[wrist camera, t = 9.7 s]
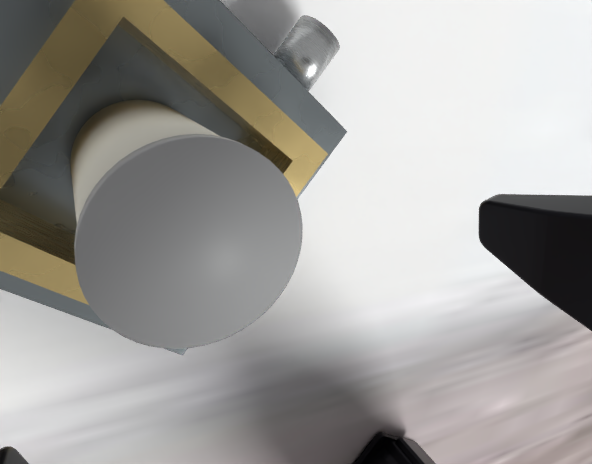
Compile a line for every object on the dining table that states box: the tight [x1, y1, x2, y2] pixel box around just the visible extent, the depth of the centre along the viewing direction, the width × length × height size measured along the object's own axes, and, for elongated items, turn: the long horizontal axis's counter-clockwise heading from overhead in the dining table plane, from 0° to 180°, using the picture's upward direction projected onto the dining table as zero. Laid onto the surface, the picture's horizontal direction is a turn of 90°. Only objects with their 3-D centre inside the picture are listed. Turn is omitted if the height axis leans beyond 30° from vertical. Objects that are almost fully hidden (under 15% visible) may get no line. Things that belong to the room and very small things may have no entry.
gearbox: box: [0, 0, 347, 355], centre depth 15 cm, size 14×12×6 cm
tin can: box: [70, 100, 302, 349], centre depth 12 cm, size 5×5×7 cm
